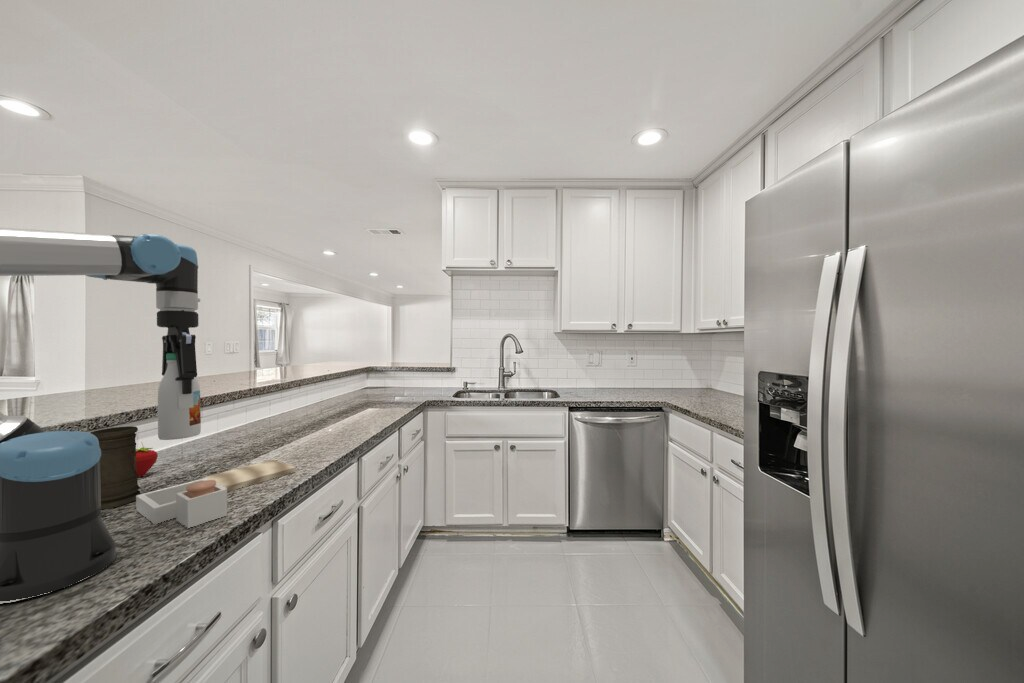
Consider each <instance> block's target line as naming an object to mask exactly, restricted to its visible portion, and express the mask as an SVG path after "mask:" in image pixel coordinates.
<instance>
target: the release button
mask: <svg viewBox="0 0 1024 683" xmlns="http://www.w3.org/2000/svg"><path fill="white" fill-rule="evenodd" d="M215 485H216V481H215V480H206V481H200V482H196V483H193V484H190V485H188V486H187V487H186V491H188V492H189V498H194V497H198V496H201V495H205V494H208V493H212V492H214V486H215Z"/></svg>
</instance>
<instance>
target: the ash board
mask: <svg viewBox="0 0 1024 683" xmlns="http://www.w3.org/2000/svg"><path fill="white" fill-rule="evenodd" d="M296 471H297V467H296V466H293V465H290V464H287V463H284V462H282V461H278V460H275V459H270V460H267V461H262V462H259V463H254V464H251V465H247V466H241V467H239V468H234V469H231V470H227V471H223V472H219V473H216V474H210V475H207V476H204V477H203V478H207V479H209V480H215V481H216V483H217V484H220V485H222V486H224V487H226V488H227V493H228V491H229V492H232V490H233V491H235V489H236V490H239V488H240V489H242V487H243V488H247V487H249V485H250V486H253V485H255V484H256V483H257V484H259V483H263V481H264V482H266V481H267V482H268V481H271V480H273V478H274V479H277V478H280V477H279V476H281V477H283V476H282V475H284V476H287V475H286V474H288V475H290V474H289V473H291V474H294V473H293V472H295V473H296ZM276 477H277V478H276ZM270 479H271V480H270ZM257 484H256V485H257Z"/></svg>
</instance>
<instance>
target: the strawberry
mask: <svg viewBox="0 0 1024 683" xmlns="http://www.w3.org/2000/svg"><path fill="white" fill-rule="evenodd" d="M141 444H142V447H139V448H136V468H137V476H138V478H139V477H143V476H145V475H146V474H147V473H148V472H149V471H150V469H151V468H153V466H154V465H155V464H156V462H157V460H158V458H159V457H158V456H159V455H158V452H157V451H155V450H152V449H154V448H153V447H145V446H144V444H143V442H142V441H141Z"/></svg>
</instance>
